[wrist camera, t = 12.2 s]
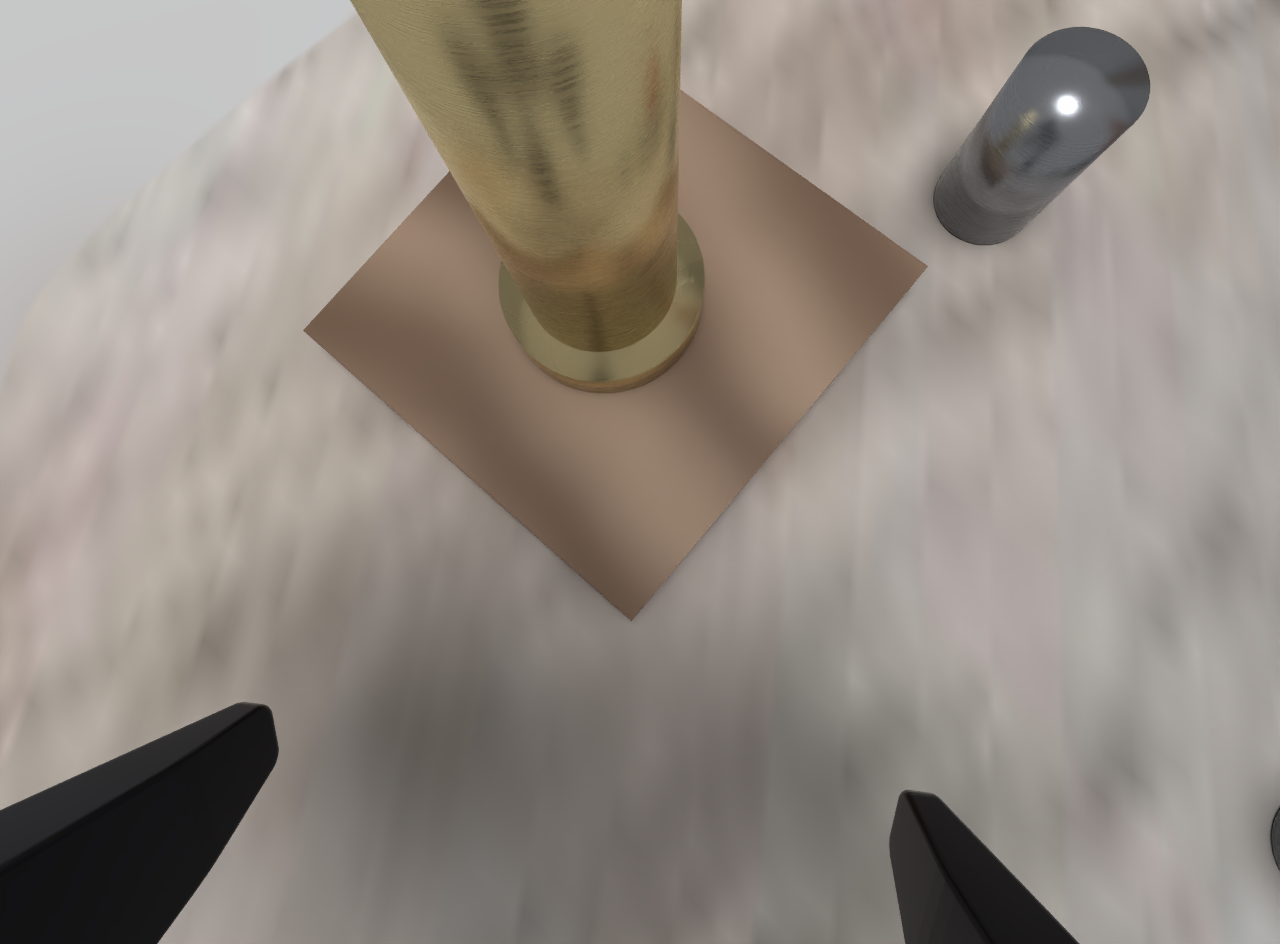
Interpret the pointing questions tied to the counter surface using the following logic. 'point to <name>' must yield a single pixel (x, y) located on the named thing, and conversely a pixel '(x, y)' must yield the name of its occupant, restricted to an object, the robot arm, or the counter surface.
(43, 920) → the robot arm
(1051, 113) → the steel spacers
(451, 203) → the walnut board
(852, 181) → the counter surface
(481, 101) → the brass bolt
